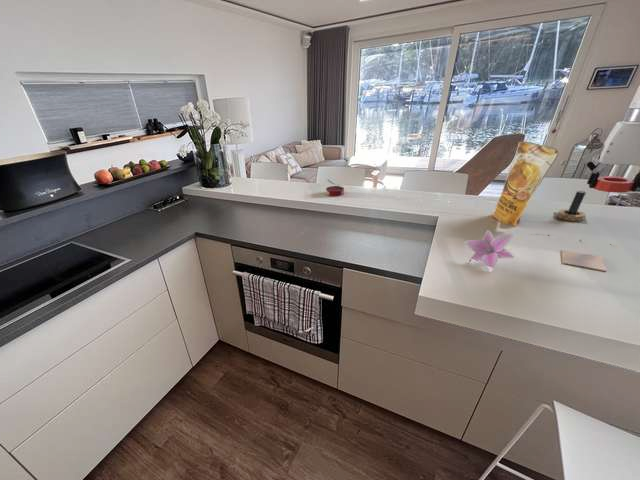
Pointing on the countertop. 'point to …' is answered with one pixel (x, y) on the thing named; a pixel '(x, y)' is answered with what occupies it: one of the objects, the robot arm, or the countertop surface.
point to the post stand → (574, 207)
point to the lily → (490, 248)
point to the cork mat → (583, 260)
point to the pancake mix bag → (523, 180)
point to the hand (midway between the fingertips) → (611, 187)
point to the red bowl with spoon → (334, 190)
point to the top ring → (614, 184)
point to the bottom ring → (568, 217)
